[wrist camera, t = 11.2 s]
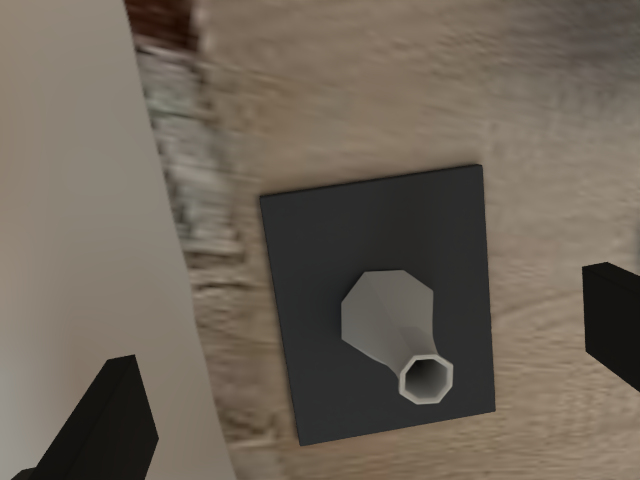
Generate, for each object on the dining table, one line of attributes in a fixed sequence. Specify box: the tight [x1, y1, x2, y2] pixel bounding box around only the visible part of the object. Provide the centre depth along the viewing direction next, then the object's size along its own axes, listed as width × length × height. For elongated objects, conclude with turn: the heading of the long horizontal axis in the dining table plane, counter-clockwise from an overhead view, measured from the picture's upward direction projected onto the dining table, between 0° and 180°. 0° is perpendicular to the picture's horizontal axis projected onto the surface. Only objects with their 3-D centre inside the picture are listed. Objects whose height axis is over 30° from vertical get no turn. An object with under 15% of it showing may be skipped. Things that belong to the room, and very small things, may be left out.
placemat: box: [260, 164, 496, 446], centre depth 39 cm, size 16×20×1 cm
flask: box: [341, 270, 453, 404], centre depth 34 cm, size 7×7×10 cm
